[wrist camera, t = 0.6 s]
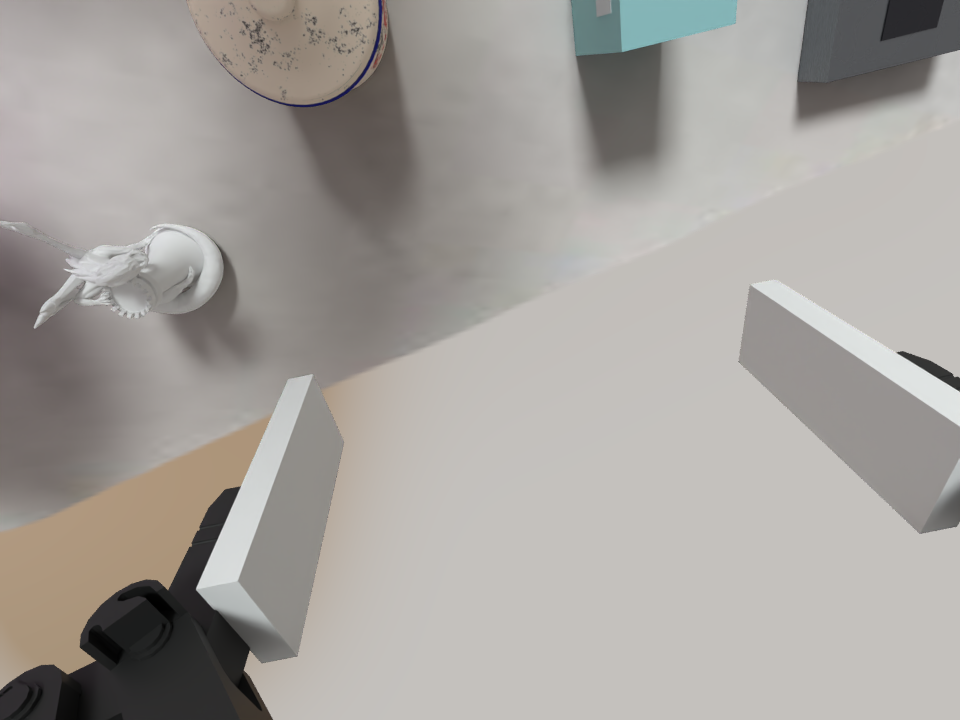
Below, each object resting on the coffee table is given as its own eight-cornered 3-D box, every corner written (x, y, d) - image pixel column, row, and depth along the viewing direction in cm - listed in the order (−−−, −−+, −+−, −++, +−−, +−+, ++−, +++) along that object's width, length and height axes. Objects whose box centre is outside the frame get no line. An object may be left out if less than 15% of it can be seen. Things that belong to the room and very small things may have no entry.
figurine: (249, 274, 38) (185, 348, 28) (175, 315, 39) (87, 400, 29) (142, 144, 33) (15, 179, 23) (60, 197, 34) (-97, 252, 24)
